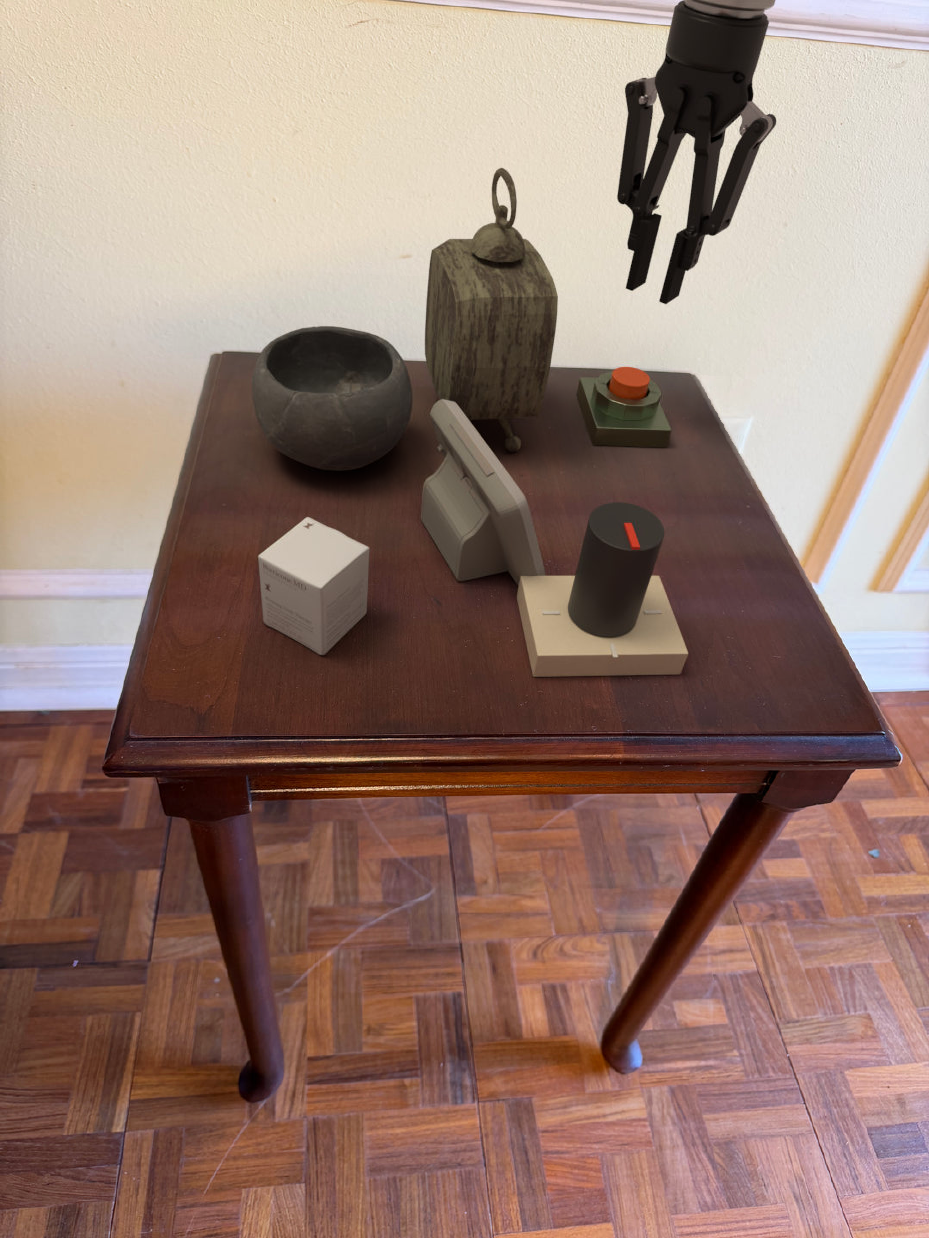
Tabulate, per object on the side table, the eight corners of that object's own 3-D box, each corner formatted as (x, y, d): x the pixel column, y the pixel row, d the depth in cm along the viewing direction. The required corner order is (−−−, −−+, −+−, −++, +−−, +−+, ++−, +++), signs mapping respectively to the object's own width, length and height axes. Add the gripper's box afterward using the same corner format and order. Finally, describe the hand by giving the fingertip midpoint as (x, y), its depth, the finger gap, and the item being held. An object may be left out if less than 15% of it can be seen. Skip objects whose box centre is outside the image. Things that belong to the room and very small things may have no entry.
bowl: (416, 495, 84) (423, 402, 77) (255, 497, 82) (246, 401, 75) (402, 409, 95) (406, 320, 88) (258, 408, 92) (251, 317, 85)
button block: (666, 447, 94) (676, 415, 91) (592, 445, 93) (600, 412, 90) (645, 397, 101) (653, 365, 98) (576, 394, 100) (582, 362, 97)
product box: (261, 624, 71) (254, 554, 66) (309, 582, 75) (307, 513, 70) (322, 658, 69) (321, 589, 64) (369, 613, 73) (371, 545, 68)
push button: (649, 402, 94) (654, 387, 92) (612, 400, 93) (616, 385, 92) (641, 381, 96) (645, 367, 95) (605, 380, 96) (608, 365, 95)
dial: (561, 588, 73) (583, 498, 67) (627, 588, 74) (655, 499, 68) (574, 638, 69) (598, 547, 63) (644, 637, 70) (674, 547, 64)
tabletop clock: (533, 461, 90) (578, 206, 73) (446, 466, 88) (470, 205, 71) (498, 385, 100) (530, 144, 82) (418, 388, 98) (434, 142, 80)
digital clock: (548, 600, 76) (570, 500, 68) (443, 608, 74) (455, 506, 67) (503, 484, 87) (518, 387, 79) (411, 489, 85) (418, 390, 78)
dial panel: (651, 593, 78) (658, 570, 76) (681, 678, 71) (691, 656, 69) (515, 593, 76) (519, 570, 74) (533, 681, 69) (538, 657, 67)
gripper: (612, -12, 71) (562, 275, 88) (801, 36, 65) (709, 334, 82) (656, -20, 76) (601, 254, 92) (837, 23, 70) (743, 309, 86)
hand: (652, 291), depth 87 cm, fingers open, 3 cm apart
